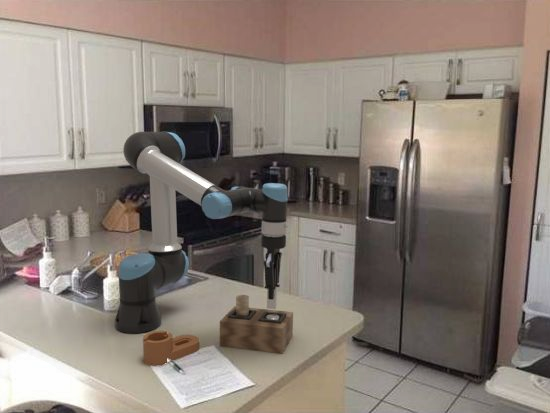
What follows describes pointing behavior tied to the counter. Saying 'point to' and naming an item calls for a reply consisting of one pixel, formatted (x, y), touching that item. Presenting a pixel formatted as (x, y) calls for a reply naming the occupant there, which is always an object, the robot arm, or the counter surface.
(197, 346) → the bracket
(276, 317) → the metal peg
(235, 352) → the counter surface
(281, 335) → the walnut block
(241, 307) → the birch dowel
